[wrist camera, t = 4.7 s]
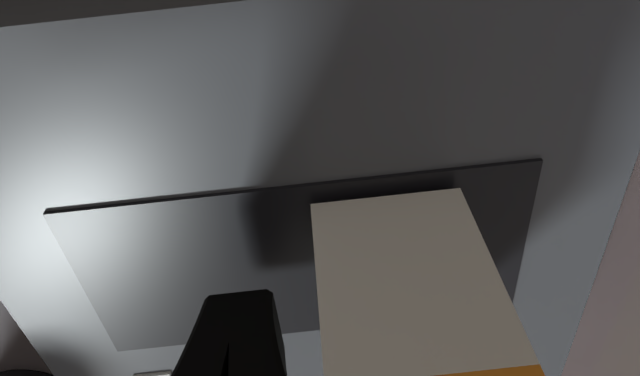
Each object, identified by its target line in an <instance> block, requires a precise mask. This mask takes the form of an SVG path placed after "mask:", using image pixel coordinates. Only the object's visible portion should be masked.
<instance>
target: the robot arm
mask: <svg viewBox="0 0 640 376" xmlns="http://www.w3.org/2000/svg"><path fill="white" fill-rule="evenodd" d="M171 376H287V370H286V359H285V347H284V342H283V337H282V333H281V328H280V323H279V319H278V314H277V309H276V305H275V300H274V295H273V292H271V291H269V290H267V289H262V290H252V291H243V292H234V293H224V294H215V295H209V296H208V297H207V298H206V299H205V300H204V303H203V305H202V308H201V310H200V313H199V315H198V318H197V320H196V323H195V325H194V327H193V330H192V332H191V334H190V336H189V339H188V341H187V343H186V345H185V347H184V350H183V352H182V354H181V356H180V358H179V360H178V362H177V364H176V366H175V368H174V370H173V372H172V374H171Z"/></svg>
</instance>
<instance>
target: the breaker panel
mask: <svg viewBox="0 0 640 376" xmlns="http://www.w3.org/2000/svg"><path fill="white" fill-rule="evenodd" d="M639 151H640V0H0V300H1V302H2V303H3V304H4V306H5V307H6V309H7V310H8V312H9V313H10V314H11V316H12V317H13V319H14V320H15V321H16V323H17V324H18V326H19V327H20V329H21V330H22V331H23V333H24V334H25V336H26V337H27V338H28V340H29V341H30V343H31V344H32V345H33V347H34V348H35V350H36V351H37V353H38V354H39V355H40V357H41V358H42V360H43V361H44V362H45V364H46V365H47V367H48V368H49V369H50V371H51V372H52V374H53V375H54V376H171V374H172V372H173V370H174V368H175V366H176V364H177V362H178V360H179V358H180V356H181V354H182V352H183V350H184V347H185V345H186V343H187V341H188V339H189V336H190V334H191V332H192V330H193V327H194V325H195V323H196V320H197V318H198V315H199V313H200V310H201V308H202V305H203V303H204V300H205V299H206V298H207V297H208V296H209V295H215V294H224V293H234V292H243V291H252V290H262V289H267V290H269V291H271V292H273V295H274V300H275V305H276V309H277V314H278V319H279V323H280V328H281V333H282V337H283V342H284V347H285V359H286V370H287V376H324V373H323V360H322V347H321V334H320V322H319V309H318V296H317V283H316V270H315V258H314V245H313V232H312V219H311V206H310V204H315V203H325V202H334V201H343V200H352V199H362V198H371V197H380V196H389V195H399V194H408V193H417V192H427V191H436V190H445V189H454V188H461V191H462V193H463V195H464V197H465V200H466V202H467V204H468V206H469V208H470V211H471V213H472V215H473V217H474V219H475V222H476V224H477V226H478V228H479V231H480V233H481V235H482V237H483V239H484V242H485V244H486V246H487V248H488V250H489V253H490V255H491V257H492V259H493V261H494V264H495V266H496V268H497V270H498V273H499V275H500V277H501V279H502V281H503V284H504V286H505V288H506V290H507V292H508V295H509V297H510V299H511V301H512V304H513V306H514V308H515V310H516V312H517V315H518V317H519V319H520V321H521V323H522V326H523V328H524V330H525V332H526V335H527V337H528V339H529V341H530V343H531V346H532V348H533V350H534V352H535V354H536V357H537V359H538V361H539V363H540V365H541V368H542V370H543V372H544V374H545V376H561V374H562V371H563V368H564V365H565V362H566V359H567V357H568V354H569V351H570V348H571V345H572V342H573V339H574V337H575V334H576V331H577V328H578V325H579V322H580V319H581V317H582V314H583V311H584V308H585V305H586V302H587V299H588V297H589V294H590V291H591V288H592V285H593V282H594V279H595V277H596V274H597V271H598V268H599V265H600V262H601V259H602V257H603V254H604V251H605V248H606V245H607V242H608V239H609V237H610V234H611V231H612V228H613V225H614V222H615V219H616V217H617V214H618V211H619V208H620V205H621V202H622V199H623V197H624V194H625V191H626V188H627V185H628V182H629V179H630V177H631V174H632V171H633V168H634V165H635V162H636V159H637V157H638V154H639Z"/></svg>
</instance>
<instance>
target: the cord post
mask: <svg viewBox="0 0 640 376" xmlns="http://www.w3.org/2000/svg"><path fill="white" fill-rule="evenodd" d="M0 376H52V375H49V374H46V373H42V372H37V371H30V370H11V371H5V372H1V373H0Z"/></svg>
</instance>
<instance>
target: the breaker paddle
mask: <svg viewBox="0 0 640 376" xmlns="http://www.w3.org/2000/svg"><path fill="white" fill-rule="evenodd" d="M310 206H311V219H312V232H313V245H314V258H315V270H316V283H317V296H318V309H319V322H320V334H321V347H322V360H323V373H324V376H545V374H544V372H543V370H542V368H541V365H540V363H539V361H538V359H537V357H536V354H535V352H534V350H533V348H532V346H531V343H530V341H529V339H528V337H527V335H526V332H525V330H524V328H523V326H522V323H521V321H520V319H519V317H518V315H517V312H516V310H515V308H514V306H513V304H512V301H511V299H510V297H509V295H508V292H507V290H506V288H505V286H504V284H503V281H502V279H501V277H500V275H499V273H498V270H497V268H496V266H495V264H494V261H493V259H492V257H491V255H490V253H489V250H488V248H487V246H486V244H485V242H484V239H483V237H482V235H481V233H480V231H479V228H478V226H477V224H476V222H475V219H474V217H473V215H472V213H471V211H470V208H469V206H468V204H467V202H466V200H465V197H464V195H463V193H462V191H461V188H454V189H445V190H436V191H427V192H417V193H408V194H399V195H389V196H380V197H371V198H362V199H352V200H343V201H334V202H325V203H315V204H310Z"/></svg>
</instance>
